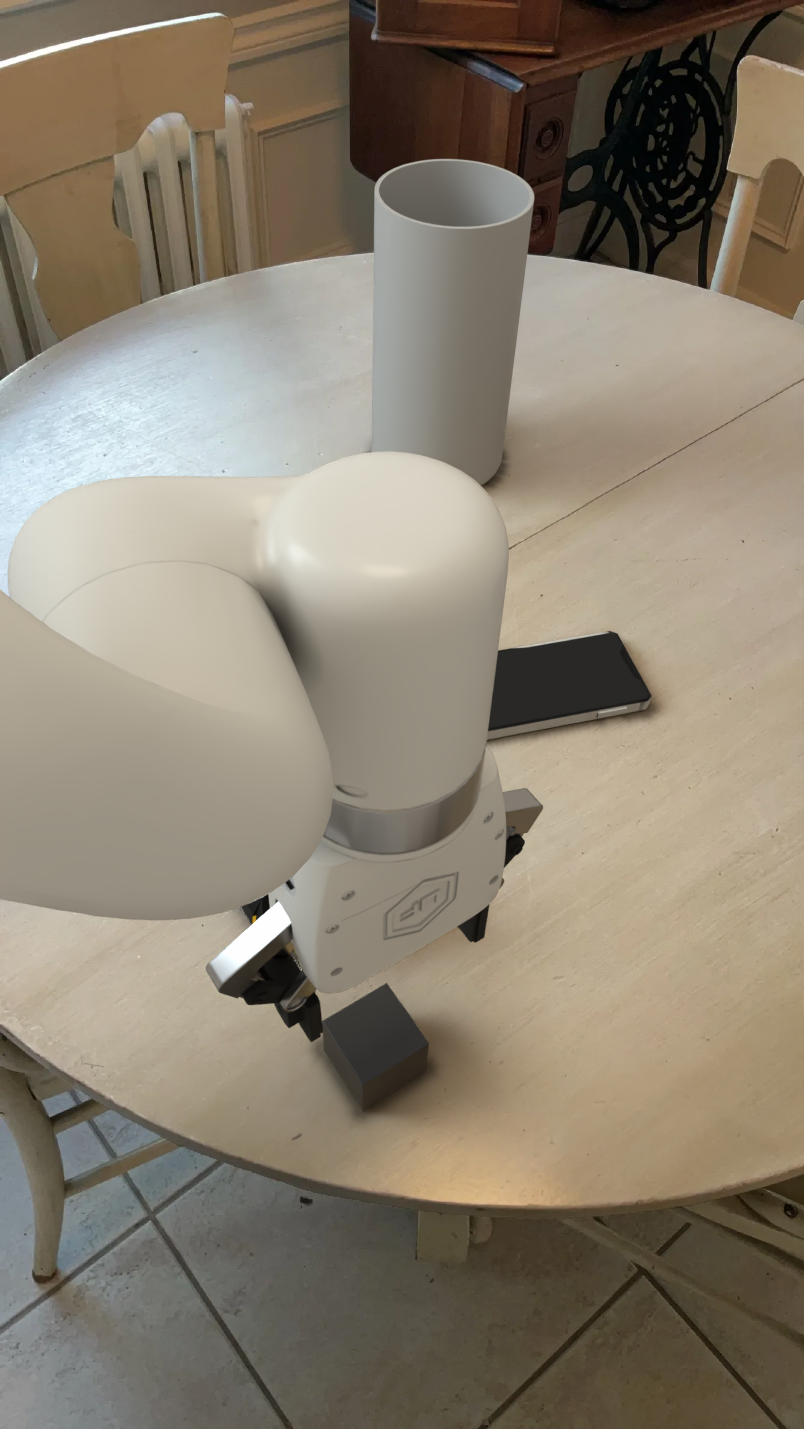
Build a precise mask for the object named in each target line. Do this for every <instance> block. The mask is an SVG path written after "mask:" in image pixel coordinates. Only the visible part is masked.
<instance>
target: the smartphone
mask: <svg viewBox="0 0 804 1429" xmlns="http://www.w3.org/2000/svg"><path fill="white" fill-rule="evenodd" d="M652 696H653V695H652V694H651V692H650V690H649V688H648V686H647V684H646V682H645V680H644V679H643V677H642V675H641V674H640V671H639V670H638V668H637V666H636V664H635V663H634V661H633V659H632V657H631V655H630V653H629V652H628V649H627V648H626V646H625V644H624V642H623V641H622V639H621V637H620V635H619V633H617V632H614V631H611V630H607V631H602V632H596V633H590V634H584V635H579V636H573V637H568V638H561V639H556V640H550V641H545V642H539V643H532V644H527V645H522V646H516V647H510V648H506V649H498V655H497V663H496V670H495V678H494V686H493V694H492V702H491V710H490V718H489V726H488V734H487V741H488V740H494V739H498V738H504V737H509V736H515V735H519V734H525V733H530V732H535V731H536V732H537V731H540V730H545V729H550V728H556V727H561V726H566V725H570V724H576V723H582V722H588V721H593V720H598V719H603V718H608V717H609V718H610V717H612V716H613V717H615V716H619V715H625V714H629V713H634V712H639V711H645V710H647V708H648V707H649V705H650V703H651V700H652Z"/></svg>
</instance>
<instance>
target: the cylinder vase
mask: <svg viewBox="0 0 804 1429" xmlns="http://www.w3.org/2000/svg"><path fill="white" fill-rule="evenodd" d="M373 196H374V200H373V201H374V203H373V204H374V206H373V284H372V285H373V286H372V288H373V289H372V290H373V294H372V296H373V297H372V298H373V299H372V300H373V302H372V304H373V305H372V374H371V375H372V377H371V378H372V379H371V380H372V382H371V385H372V386H371V388H372V389H371V452H385V451H393V452H405V453H412V454H417V455H423V456H426V457H429V458H433V459H436V460H439V461H442V462H444V463H447V464H449V465H451V466H453V467H455V468H457V469H459V470H461V471H463V472H464V473H466V474H467V475H468V476H470V477H471V478H473V479H474V480H475V481H476V482H477V483H478V484H479V485H480V486H481V487H482V486H483V485H484V484H486V483H487V482H489V481H490V480H491V479H492V478H493V477H494V476H495V475H496V474H497V472H498V471H499V468H500V466H501V464H502V461H503V460H502V459H503V453H504V446H505V445H504V444H505V436H506V429H507V421H508V412H509V405H510V396H511V389H512V381H513V372H514V365H515V357H516V348H517V343H518V342H517V340H518V332H519V324H520V317H521V308H522V301H523V300H522V299H523V292H524V283H525V277H526V268H527V262H528V261H527V260H528V253H529V244H530V235H531V228H532V219H533V211H534V204H535V203H534V202H535V193H534V191H533V188H532V187H531V186H530V184H529V183H528V182H527V181H526V180H525V179H524V178H522V177H521V176H519V175H517V174H516V173H513V172H512V171H510V170H507V169H506V168H503V167H500V166H497V165H493V164H491V163H485V162H481V161H475V160H469V159H459V158H436V159H435V158H433V159H424V160H417V161H413V162H412V161H411V162H409V163H405V164H402V165H398V166H396V167H393V168H391V169H390V170H388V171H387V172H385V173H384V174H382V175H381V176H380V177H379V178H378V180H377V181H376V183H375V185H374V194H373Z"/></svg>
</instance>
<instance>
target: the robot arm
mask: <svg viewBox="0 0 804 1429" xmlns="http://www.w3.org/2000/svg"><path fill="white" fill-rule="evenodd" d="M509 554H510V544H509V538H508V532H507V527H506V525H505V522H504V519H503V517H502V514H501V511H500V509H499V507H498V506H497V504H496V502H495V501H494V499H493V498H492V497H491V495H490V494H489V493H488V492H487V490H486V489H485V488H483V486H482V485H481V486H480V485H479V484H478V483H477V482H476V481H475V480H474V479H473V478H471V477H470V476H468V475H467V474H466V473H464V472H463V471H461V470H459V469H457V468H455V467H453V466H451V465H449V464H447V463H444V462H442V461H439V460H436V459H433V458H429V457H426V456H423V455H417V454H412V453H405V452H393V451H385V452H372V451H371V452H361V453H356V454H352V455H348V456H345V457H344V456H343V457H341V458H338V459H335V460H332V461H330V462H327V463H325V464H322V465H320V466H318V467H316V468H315V469H313V470H311V471H309V472H307V473H305V474H301V475H274V476H201V475H200V476H195V475H143V476H126V477H119V478H118V477H117V478H108V479H103V480H97V481H94V482H90V483H86V484H83V485H79V486H76V487H73V488H70V489H68V490H66V491H63V492H61V493H60V494H58V495H55V496H53V497H51V498H50V499H49V500H47V501H46V502H45V503H43V504H42V505H40V506H39V507H37V508H36V509H35V510H34V511H33V513H31V515H30V516H29V517H28V518H27V519H26V520H25V521H24V522H23V524H22V526H21V527H20V529H19V531H18V532H17V534H16V536H15V537H14V540H13V543H12V546H11V549H10V552H9V556H8V563H7V589H8V595H7V594H6V593H5V592H4V591H3V589H1V588H0V900H1V901H8V902H12V903H18V904H23V905H29V906H33V907H34V906H35V907H40V908H45V909H49V910H55V911H61V912H68V913H69V912H70V913H76V914H84V915H88V916H92V917H98V918H109V919H119V920H120V919H121V920H132V921H133V920H134V921H135V920H136V921H138V920H139V921H172V920H174V921H175V920H176V921H177V920H190V919H198V918H203V917H207V916H213V915H218V914H222V913H226V912H230V911H231V910H235V909H238V908H242V907H241V906H244V905H247V904H249V903H251V902H253V901H255V900H257V899H259V898H261V897H263V896H265V895H267V894H269V904H270V909H269V910H268V911H267V912H266V913H265V914H263V915H262V916H261V917H260V918H259V919H258V920H257V921H255V922H254V923H253V924H251V925H250V926H248V927H247V928H246V929H245V930H244V931H243V932H242V933H240V935H239V936H237V937H236V938H235V939H234V940H233V941H232V942H230V943H229V944H228V945H227V946H225V947H224V948H223V949H222V951H220V952H219V953H218V954H217V955H216V956H214V957H213V958H212V959H211V960H210V961H209V962H208V963H207V964H206V966H205V972H206V973H207V975H208V977H209V979H210V980H211V982H212V983H213V985H214V987H215V988H216V990H217V992H218V993H219V994H222V995H225V996H228V997H231V998H234V999H237V1000H238V999H239V998H240V999H243V1001H244V1002H245V1004H246V1005H247V1006H261V1005H272V1004H274V1007H275V1010H276V1011H277V1013H278V1015H279V1017H280V1018H281V1020H282V1022H283V1023H284V1025H285V1026H286V1028H287V1029H290V1028H293V1027H294V1026H296V1025H299V1026H300V1028H301V1030H302V1031H303V1033H304V1034H305V1036H306V1038H307V1039H308V1041H309V1042H310V1043H313V1042H315V1041H316V1040H318V1039H320V1038H321V1036H322V1035H321V1034H323V1027H322V1021H323V1018H322V1017H323V1016H322V1007H321V1006H322V1005H321V1000H320V998H319V996H318V995H317V993H316V990H317V991H318V992H319V993H321V994H329V995H332V994H337V993H342V992H345V991H348V990H350V989H352V988H354V987H357V986H358V985H360V984H362V983H364V982H366V981H368V980H369V979H371V978H373V977H374V976H376V975H378V974H380V973H381V972H383V971H385V970H387V969H389V968H390V967H392V966H394V965H395V964H397V963H398V962H400V961H403V959H405V958H408V957H409V956H411V955H412V954H414V953H415V952H417V951H419V950H421V949H422V948H424V947H427V945H429V944H431V943H432V942H434V941H436V940H437V939H439V938H441V937H442V936H445V935H446V934H447V933H449V932H450V931H452V930H454V929H456V928H458V929H459V930H460V932H461V933H462V934H463V935H464V937H465V938H466V939H467V940H468V942H469V943H475V944H476V943H478V942H480V941H482V940H483V939H484V938H485V935H486V930H487V923H488V916H489V911H490V905H491V903H492V902H493V901H494V900H495V899H496V897H497V895H498V893H499V891H500V889H501V888H502V887H503V886H504V884H505V879H504V878H503V877H504V876H503V875H504V870H505V868H506V867H507V866H508V865H509V864H510V862H511V861H513V859H514V858H515V857H516V856H518V855H519V854H521V852H522V851H523V849H524V846H525V844H526V841H525V840H526V839H524V838H523V836H524V835H525V834H528V833H529V832H530V830H531V828H532V827H533V825H534V824H535V822H536V821H537V820H538V818H539V816H540V814H541V813H542V812H543V810H544V805H543V804H542V803H541V802H540V801H539V799H537V798H536V797H535V796H534V794H533V793H532V792H531V791H530V790H529V789H528V788H527V787H523V788H517V789H513V790H507V791H503V786H502V781H501V778H500V772H499V768H498V765H497V764H498V763H497V760H496V758H495V756H494V753H493V752H492V751H491V749H490V748H489V747H488V746H487V741H488V740H487V734H488V726H489V718H490V710H491V702H492V694H493V686H494V678H495V670H496V663H497V655H498V650H499V646H500V638H501V630H502V622H503V615H504V606H505V599H506V592H507V591H506V590H507V582H508V581H507V580H508V575H509V557H510V555H509ZM294 949H295V952H296V955H297V957H298V958H297V960H298V963H299V965H300V967H301V968H300V967H299V965H298V964H297V963H296V961H295V958H294V957H292V956H291V955H290V954H291V953H292V951H293V950H294Z"/></svg>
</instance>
